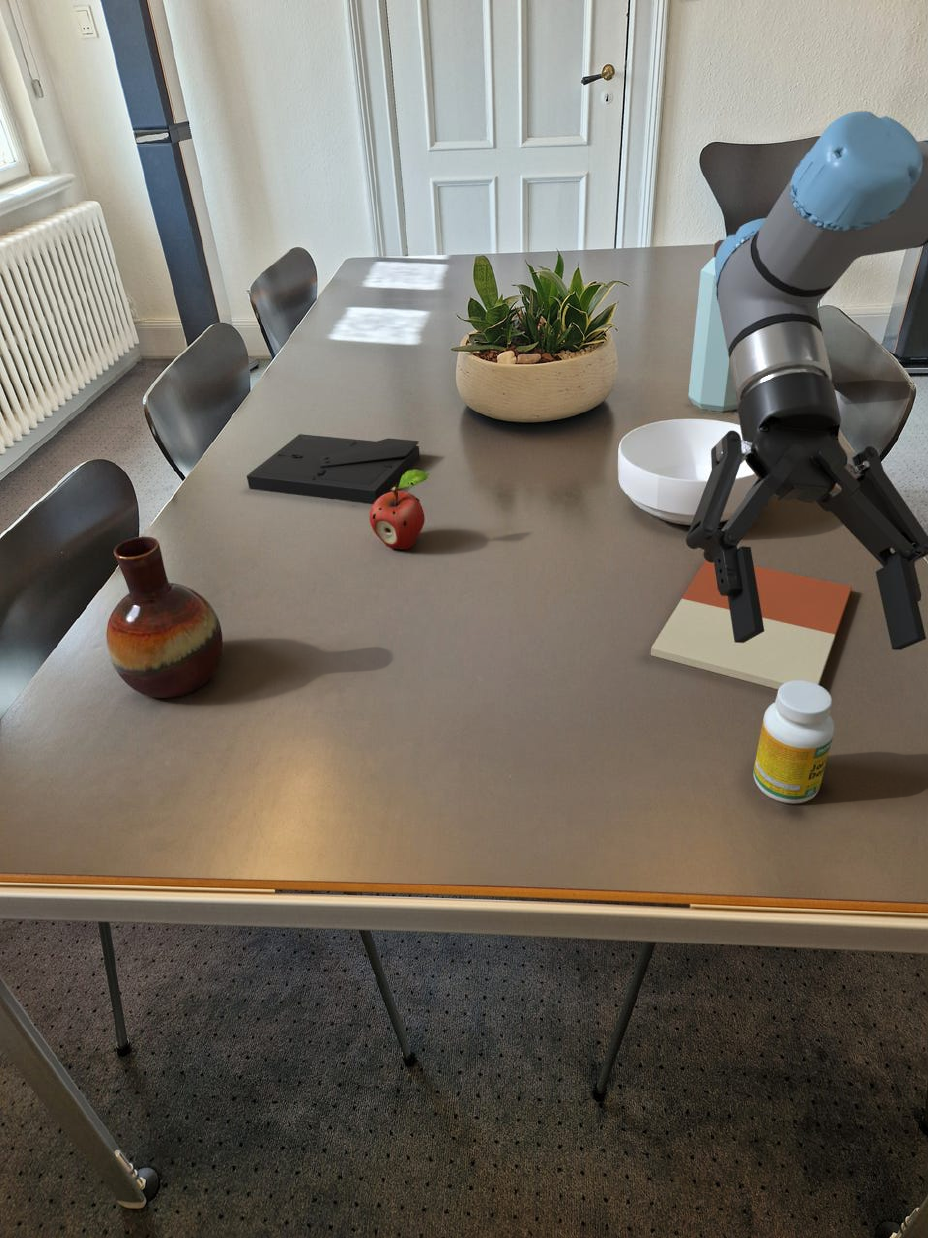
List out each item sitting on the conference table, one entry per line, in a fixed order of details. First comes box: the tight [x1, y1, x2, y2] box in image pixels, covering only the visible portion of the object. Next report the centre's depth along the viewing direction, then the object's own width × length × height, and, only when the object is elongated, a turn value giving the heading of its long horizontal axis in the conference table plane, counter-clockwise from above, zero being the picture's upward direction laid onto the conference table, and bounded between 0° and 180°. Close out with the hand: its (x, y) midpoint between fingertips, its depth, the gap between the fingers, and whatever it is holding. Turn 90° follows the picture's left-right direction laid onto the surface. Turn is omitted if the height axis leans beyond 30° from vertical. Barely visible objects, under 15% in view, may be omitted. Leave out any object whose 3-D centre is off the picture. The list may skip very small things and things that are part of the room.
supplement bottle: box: [752, 680, 835, 804], centre depth 69 cm, size 5×5×10 cm
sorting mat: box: [650, 559, 853, 691], centre depth 90 cm, size 16×20×1 cm
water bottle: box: [688, 239, 739, 413], centre depth 135 cm, size 10×10×25 cm
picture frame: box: [246, 433, 421, 505], centre depth 127 cm, size 16×3×21 cm
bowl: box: [617, 418, 758, 526], centre depth 110 cm, size 20×20×8 cm
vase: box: [105, 536, 224, 699], centre depth 84 cm, size 11×11×15 cm
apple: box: [368, 468, 430, 550], centre depth 106 cm, size 8×7×10 cm
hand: (831, 641), depth 63 cm, fingers open, 13 cm apart
